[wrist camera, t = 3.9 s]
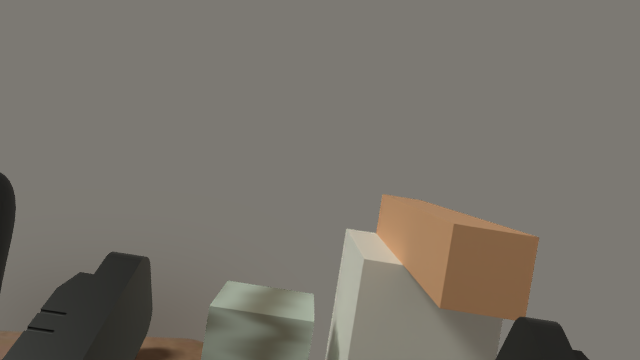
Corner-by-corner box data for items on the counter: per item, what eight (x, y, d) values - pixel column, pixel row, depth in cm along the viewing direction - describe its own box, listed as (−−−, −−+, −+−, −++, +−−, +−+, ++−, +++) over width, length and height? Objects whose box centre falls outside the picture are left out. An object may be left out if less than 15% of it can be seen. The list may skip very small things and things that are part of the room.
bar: (524, 321, 22) (539, 237, 22) (439, 308, 22) (453, 223, 22) (415, 239, 48) (421, 200, 48) (376, 233, 48) (382, 194, 48)
